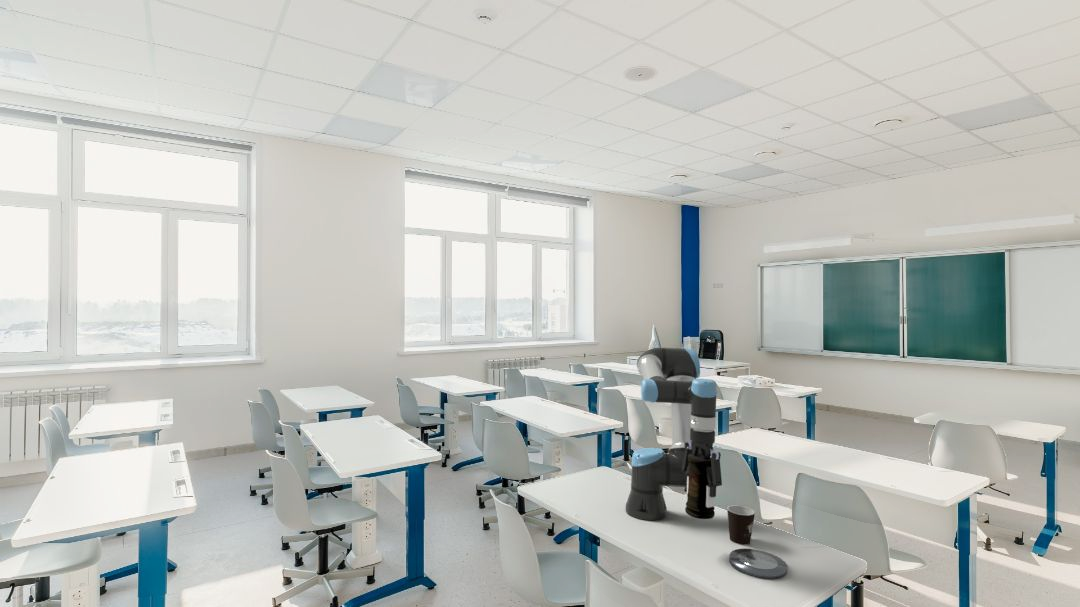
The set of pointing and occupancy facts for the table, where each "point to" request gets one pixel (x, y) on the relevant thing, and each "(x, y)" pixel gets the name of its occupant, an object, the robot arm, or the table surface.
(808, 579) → the table surface
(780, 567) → the dark gray plate
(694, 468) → the container
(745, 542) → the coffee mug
